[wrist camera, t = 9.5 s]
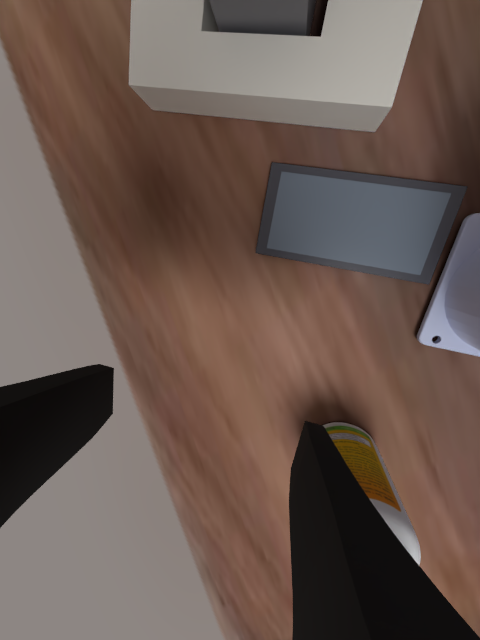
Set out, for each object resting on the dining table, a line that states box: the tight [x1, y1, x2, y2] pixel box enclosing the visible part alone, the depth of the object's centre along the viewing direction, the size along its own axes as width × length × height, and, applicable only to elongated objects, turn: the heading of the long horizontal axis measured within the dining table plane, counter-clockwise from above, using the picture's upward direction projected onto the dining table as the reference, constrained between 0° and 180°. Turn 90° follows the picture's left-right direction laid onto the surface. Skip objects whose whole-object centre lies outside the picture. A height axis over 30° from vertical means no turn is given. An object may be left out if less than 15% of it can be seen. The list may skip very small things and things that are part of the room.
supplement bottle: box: [322, 422, 421, 565], centre depth 15 cm, size 5×5×10 cm
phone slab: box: [256, 162, 467, 284], centre depth 16 cm, size 6×11×1 cm, turn 80°
